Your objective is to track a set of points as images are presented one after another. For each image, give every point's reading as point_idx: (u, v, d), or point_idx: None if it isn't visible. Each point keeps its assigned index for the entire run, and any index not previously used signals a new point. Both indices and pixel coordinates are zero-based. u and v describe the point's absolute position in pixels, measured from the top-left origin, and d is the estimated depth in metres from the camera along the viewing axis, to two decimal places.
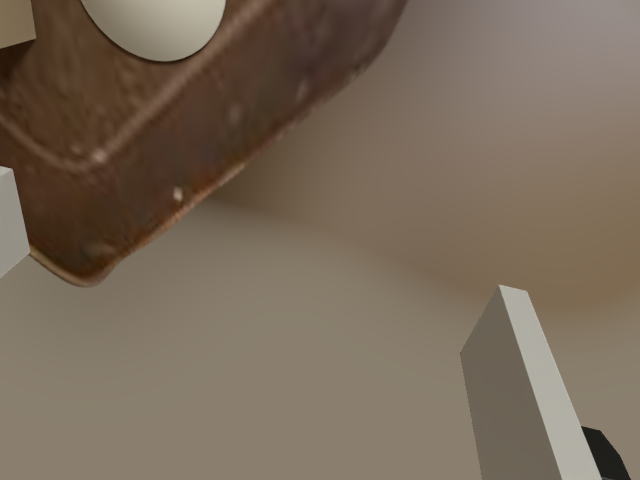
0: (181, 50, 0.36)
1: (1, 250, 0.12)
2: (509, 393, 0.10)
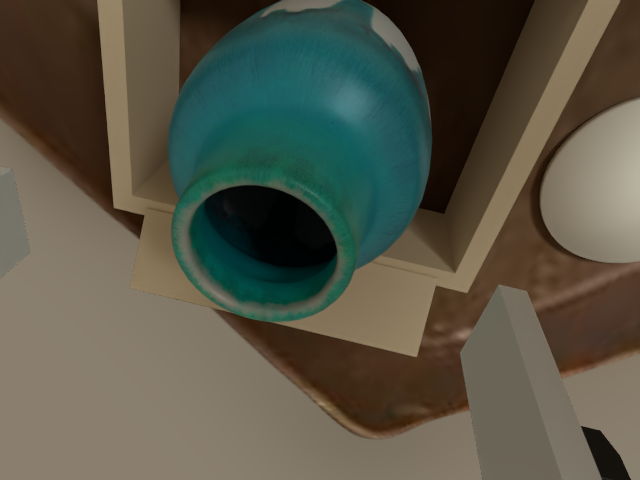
0: (639, 254, 0.32)
1: (1, 250, 0.12)
2: (509, 392, 0.10)
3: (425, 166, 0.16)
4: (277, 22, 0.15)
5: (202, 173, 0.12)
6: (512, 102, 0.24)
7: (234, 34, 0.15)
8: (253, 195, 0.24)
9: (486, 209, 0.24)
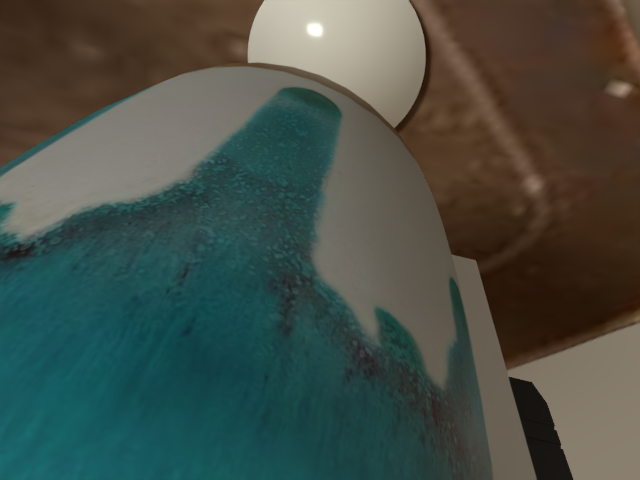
0: (414, 38, 0.29)
1: None
2: None
3: None
4: None
5: None
6: None
7: None
8: None
9: None
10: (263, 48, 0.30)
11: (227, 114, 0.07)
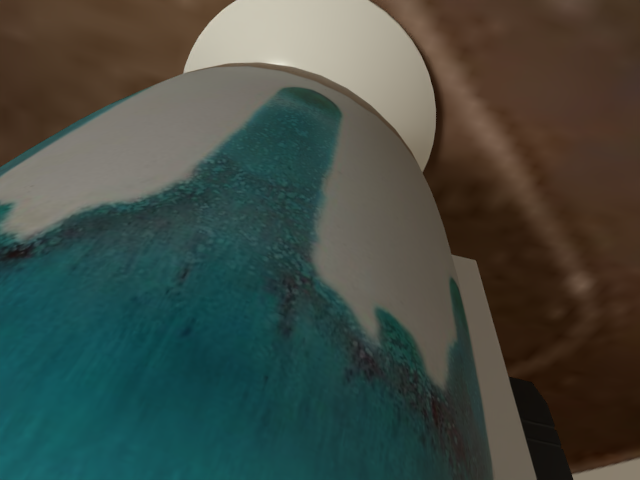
0: (420, 94, 0.20)
1: None
2: None
3: None
4: None
5: None
6: None
7: None
8: None
9: None
10: None
11: (227, 114, 0.07)
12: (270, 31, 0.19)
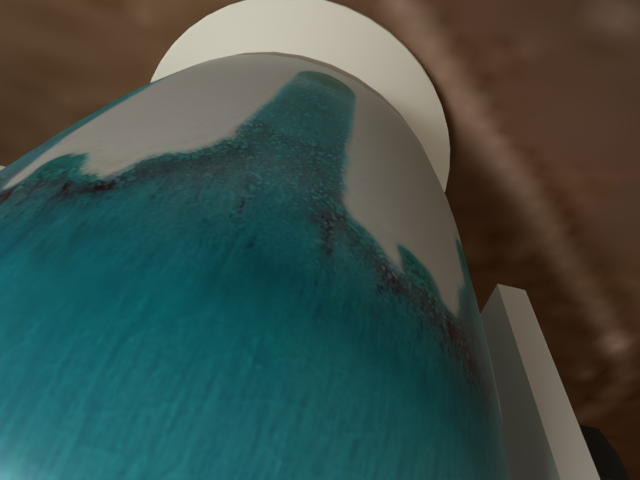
0: (431, 131, 0.16)
1: None
2: (507, 392, 0.10)
3: None
4: None
5: None
6: None
7: None
8: None
9: None
10: None
11: (257, 89, 0.08)
12: None
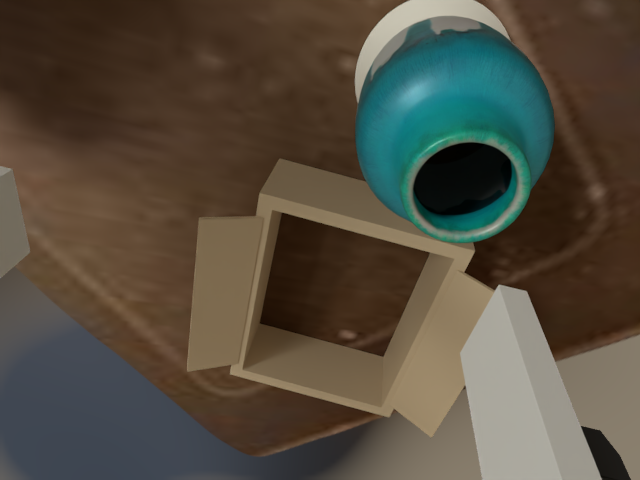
0: None
1: (1, 250, 0.12)
2: (509, 393, 0.10)
3: None
4: (457, 38, 0.21)
5: (436, 135, 0.18)
6: None
7: (423, 46, 0.22)
8: None
9: (398, 243, 0.36)
10: (371, 64, 0.35)
11: (472, 21, 0.25)
12: None
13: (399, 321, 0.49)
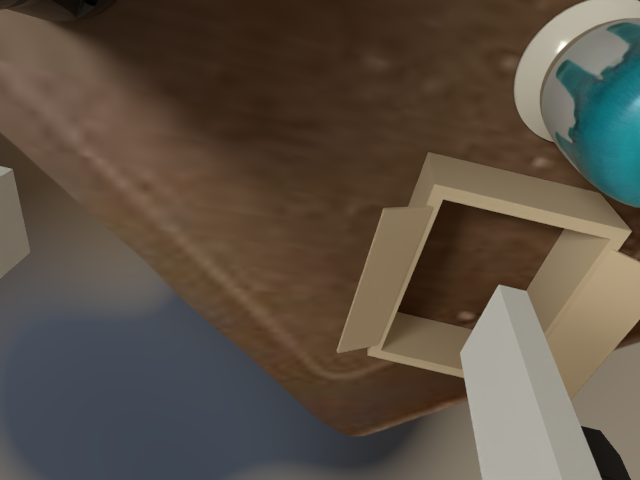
0: None
1: (1, 250, 0.12)
2: (509, 393, 0.10)
3: None
4: None
5: None
6: None
7: None
8: None
9: (559, 226, 0.39)
10: (534, 63, 0.38)
11: None
12: (589, 22, 0.36)
13: None
